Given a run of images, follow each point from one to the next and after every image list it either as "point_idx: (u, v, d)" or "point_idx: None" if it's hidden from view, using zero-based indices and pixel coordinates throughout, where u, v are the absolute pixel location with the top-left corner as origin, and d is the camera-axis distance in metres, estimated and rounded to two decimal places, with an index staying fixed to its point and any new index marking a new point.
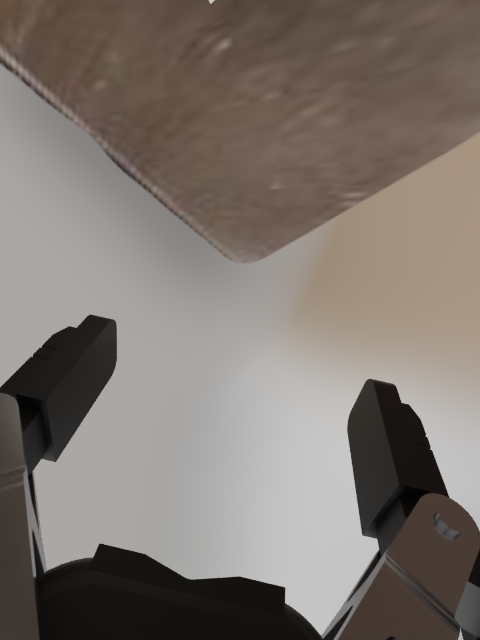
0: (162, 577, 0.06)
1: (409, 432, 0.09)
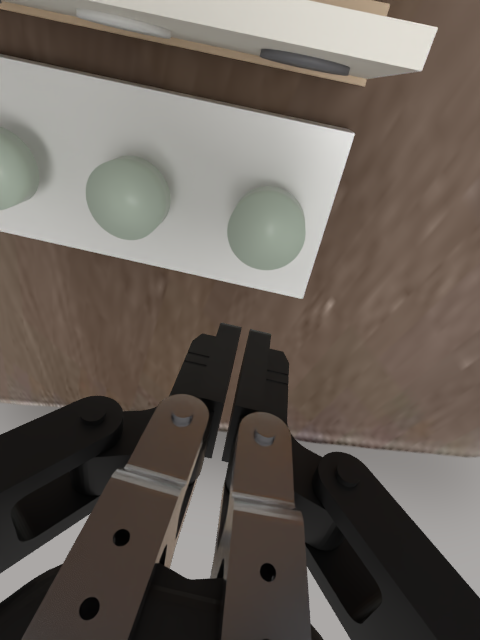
0: (162, 577, 0.06)
1: (265, 369, 0.10)
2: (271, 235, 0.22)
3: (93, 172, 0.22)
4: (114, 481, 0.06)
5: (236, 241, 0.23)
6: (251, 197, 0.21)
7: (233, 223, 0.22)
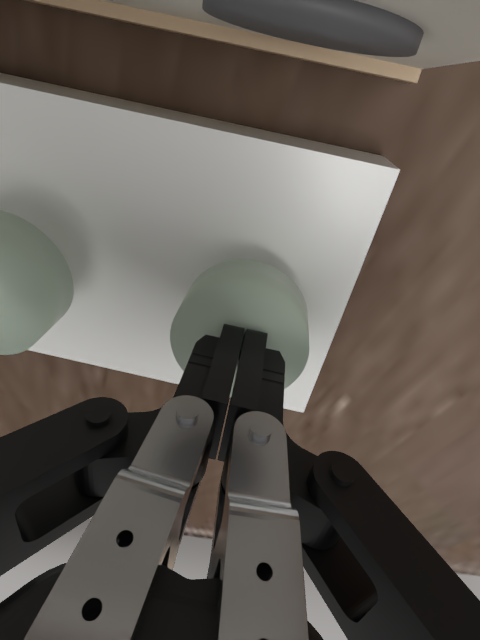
0: (162, 576, 0.06)
1: (261, 368, 0.10)
2: None
3: None
4: (118, 482, 0.06)
5: (187, 356, 0.13)
6: (209, 289, 0.12)
7: (180, 329, 0.12)
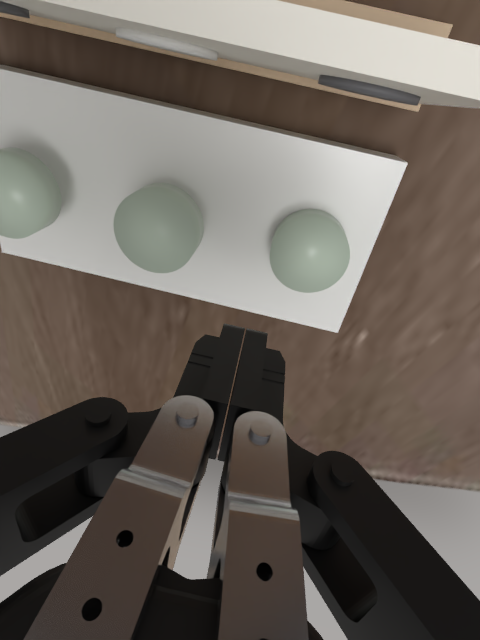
0: (162, 577, 0.06)
1: (261, 368, 0.10)
2: (314, 258, 0.22)
3: (123, 201, 0.20)
4: (118, 482, 0.06)
5: (278, 263, 0.23)
6: (297, 221, 0.21)
7: (276, 246, 0.22)
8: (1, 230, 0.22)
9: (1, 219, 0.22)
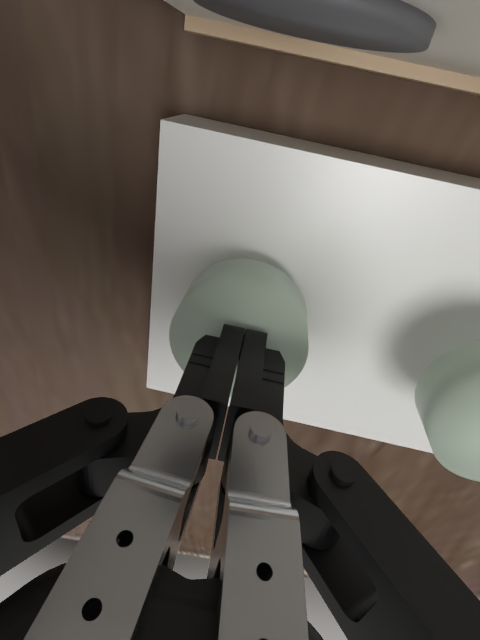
0: (162, 576, 0.06)
1: (261, 368, 0.10)
2: None
3: None
4: (118, 482, 0.06)
5: None
6: None
7: None
8: None
9: None
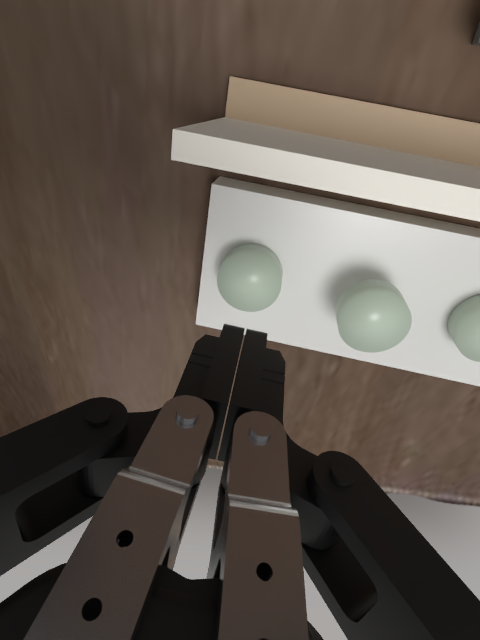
0: (162, 577, 0.06)
1: (261, 368, 0.10)
2: None
3: (354, 300, 0.24)
4: (118, 482, 0.06)
5: (464, 340, 0.27)
6: None
7: (466, 327, 0.26)
8: (239, 306, 0.28)
9: (242, 298, 0.28)
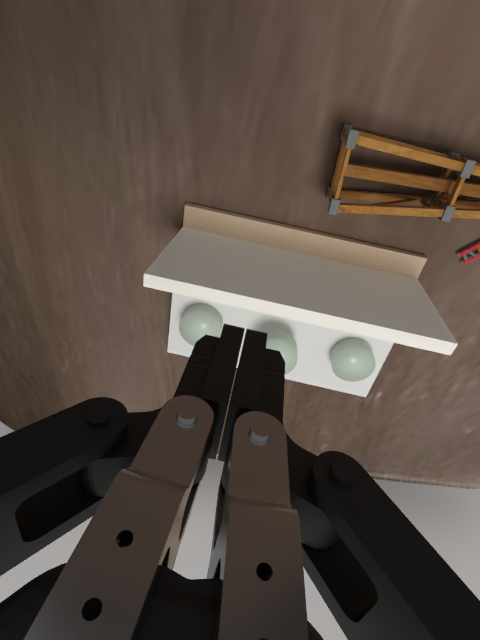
0: (162, 576, 0.06)
1: (261, 368, 0.10)
2: (356, 365, 0.42)
3: None
4: (118, 482, 0.06)
5: (336, 367, 0.42)
6: (348, 349, 0.41)
7: (336, 360, 0.41)
8: (194, 343, 0.43)
9: (196, 339, 0.43)
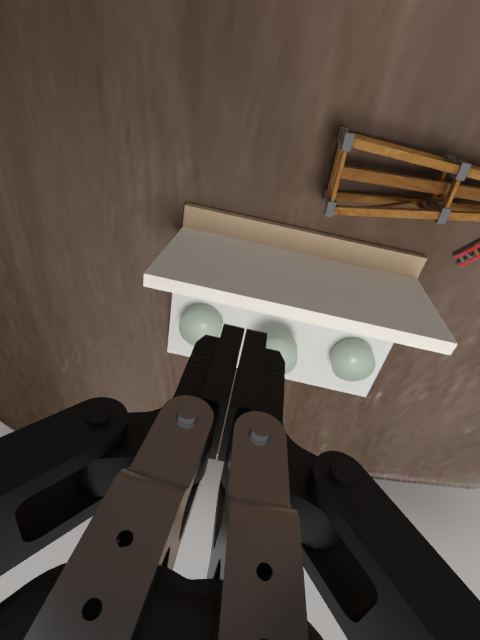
0: (162, 576, 0.06)
1: (261, 368, 0.10)
2: (356, 365, 0.42)
3: None
4: (118, 482, 0.06)
5: (336, 367, 0.42)
6: (348, 349, 0.41)
7: (336, 360, 0.41)
8: (194, 343, 0.43)
9: (195, 339, 0.43)
